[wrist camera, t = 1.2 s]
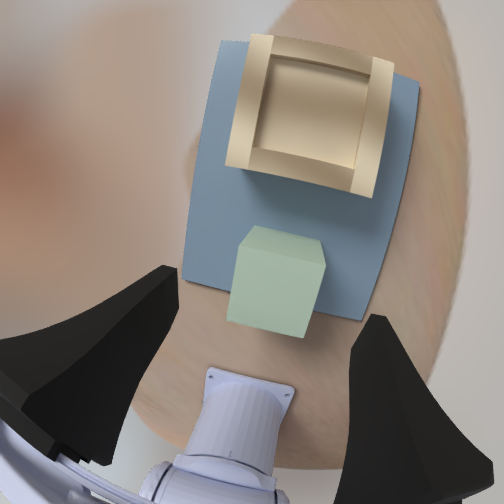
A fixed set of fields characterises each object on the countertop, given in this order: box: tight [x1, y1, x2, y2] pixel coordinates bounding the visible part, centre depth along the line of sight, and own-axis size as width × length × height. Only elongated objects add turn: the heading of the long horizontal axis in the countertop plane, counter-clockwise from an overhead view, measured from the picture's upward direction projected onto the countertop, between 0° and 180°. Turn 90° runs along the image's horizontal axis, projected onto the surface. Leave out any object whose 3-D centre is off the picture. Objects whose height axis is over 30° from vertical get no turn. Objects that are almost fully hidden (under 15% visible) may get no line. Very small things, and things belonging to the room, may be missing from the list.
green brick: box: [226, 225, 326, 338], centre depth 17 cm, size 4×4×5 cm
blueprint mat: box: [182, 41, 419, 321], centre depth 18 cm, size 18×14×1 cm
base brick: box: [225, 34, 394, 198], centre depth 15 cm, size 8×8×4 cm
